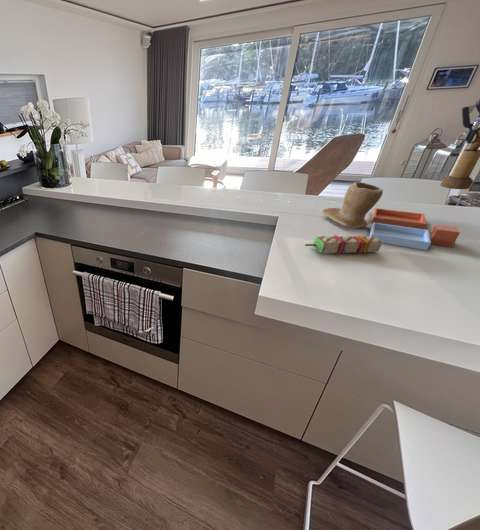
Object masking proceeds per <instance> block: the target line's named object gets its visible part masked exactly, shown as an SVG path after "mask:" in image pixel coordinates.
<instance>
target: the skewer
mask: <svg viewBox="0 0 480 530" xmlns="http://www.w3.org/2000/svg"><path fill="white" fill-rule="evenodd" d="M382 244H383V243H382V241H380V240H379V239H377V238H376V237H374V236H370V235H344V236H343V235H342V236H341V235H340V236H339V235H336V234H335V235H333V236H332V235H330V236H329V235H328V236H327V235H319V236H318V235H317V236H315V237H314V241H313V242H312V243H305V244H304V246H305V247H312V248H314V249H315V250H317V251H318V252H319V253H322V254H344V253H347V254H350V253H353V254H354V253H355V254H356V253H357V254H360V253H365V254H366V253H377V252H379V251H380V249H381V247H382Z"/></svg>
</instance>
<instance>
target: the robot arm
mask: <svg viewBox="0 0 480 530" xmlns="http://www.w3.org/2000/svg"><path fill="white" fill-rule="evenodd" d="M475 108H476V110H477V112H478V115H477V117H476V118H475V119H474V121H473V123H472V122H471V116H470V114H471V113H473V111H474V109H475ZM460 111H461V121H462V127H464V128H466V129H468V131H467V133H466V136H465V138H464V141H465V142H466V144H470V145H471V143H472V141H474V138H475V136H476V132H477V129H478V128H479V127H480V98H479V99H478V100H477V101H476V102H475V103H473V104H470V105H469V104H468V105H464V106H462V107H461V109H460Z"/></svg>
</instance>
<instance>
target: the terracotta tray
mask: <svg viewBox="0 0 480 530" xmlns="http://www.w3.org/2000/svg"><path fill="white" fill-rule="evenodd" d="M373 222H374V223H381V224H389V225H396V226H403V227H410V228H417V229H424V230H425V228H426V227H427V220H426V216H425V213H419V212H412V211H411V212H410V211H402V210H394V209H386V208H378V207H377V208H376V207H374V210H373V212H372V216H371V225H372V224H373Z"/></svg>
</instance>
